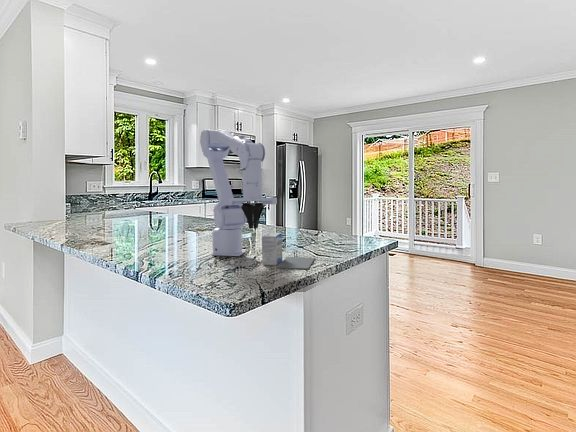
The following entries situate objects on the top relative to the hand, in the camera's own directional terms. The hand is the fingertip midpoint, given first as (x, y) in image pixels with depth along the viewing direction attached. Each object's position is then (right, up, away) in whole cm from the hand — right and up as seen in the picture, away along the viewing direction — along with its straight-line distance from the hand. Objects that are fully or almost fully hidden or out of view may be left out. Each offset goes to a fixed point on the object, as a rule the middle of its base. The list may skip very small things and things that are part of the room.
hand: (253, 228), depth 112 cm
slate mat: (+13, -11, -2) cm, 17 cm away
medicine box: (+6, -11, 0) cm, 12 cm away
